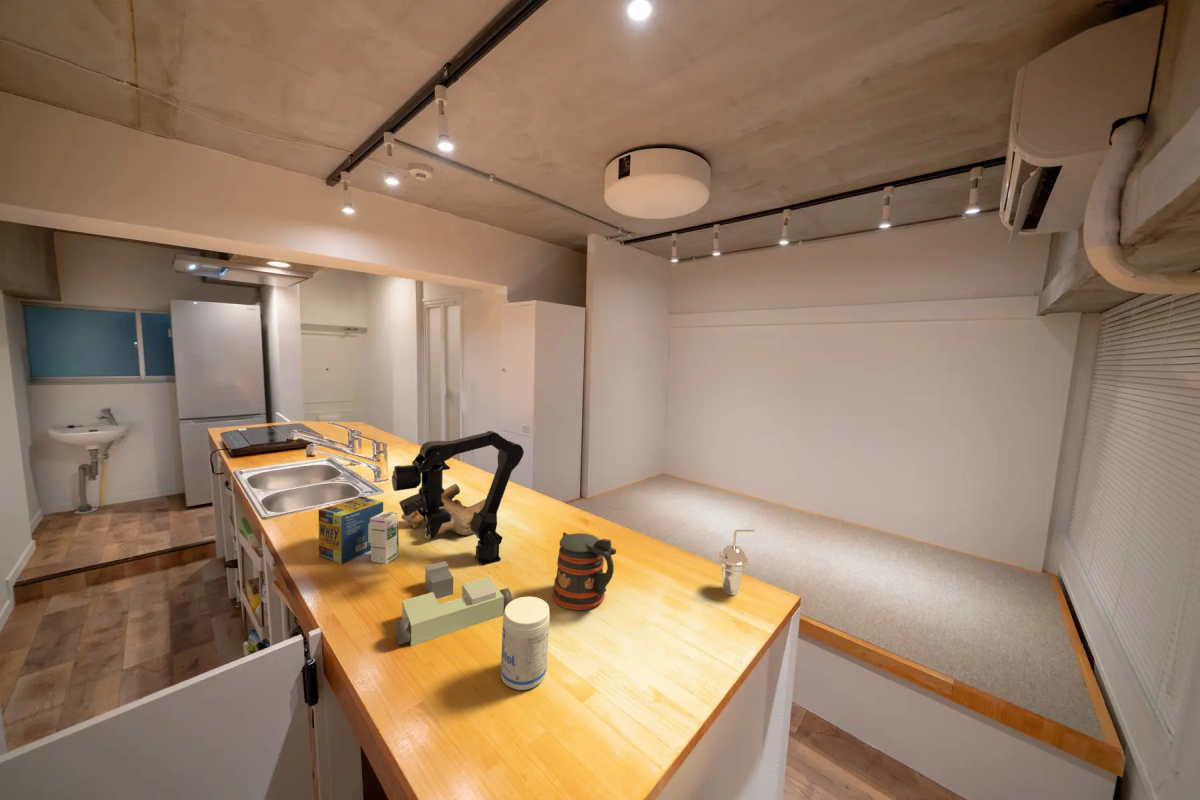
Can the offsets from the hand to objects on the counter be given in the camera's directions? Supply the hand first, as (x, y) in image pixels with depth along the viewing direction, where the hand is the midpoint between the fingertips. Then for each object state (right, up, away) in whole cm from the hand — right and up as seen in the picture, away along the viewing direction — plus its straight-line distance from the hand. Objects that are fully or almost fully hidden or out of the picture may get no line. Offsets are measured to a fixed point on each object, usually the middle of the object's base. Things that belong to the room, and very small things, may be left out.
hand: (431, 536), depth 121 cm
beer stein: (+46, -16, -7) cm, 49 cm away
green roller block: (+13, -15, -18) cm, 27 cm away
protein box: (-32, -9, +13) cm, 35 cm away
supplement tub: (+34, -18, -35) cm, 52 cm away
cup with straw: (+89, -17, +1) cm, 91 cm away
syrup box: (-19, -10, +9) cm, 23 cm away
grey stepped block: (+5, -13, -6) cm, 15 cm away
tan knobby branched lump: (-8, -9, +35) cm, 37 cm away
